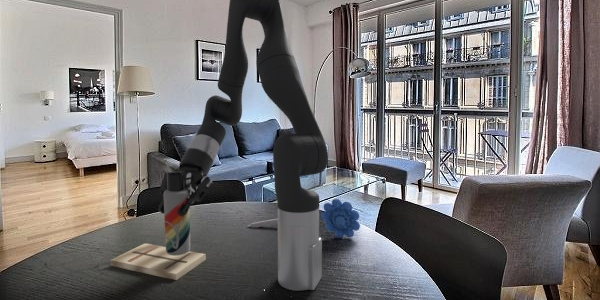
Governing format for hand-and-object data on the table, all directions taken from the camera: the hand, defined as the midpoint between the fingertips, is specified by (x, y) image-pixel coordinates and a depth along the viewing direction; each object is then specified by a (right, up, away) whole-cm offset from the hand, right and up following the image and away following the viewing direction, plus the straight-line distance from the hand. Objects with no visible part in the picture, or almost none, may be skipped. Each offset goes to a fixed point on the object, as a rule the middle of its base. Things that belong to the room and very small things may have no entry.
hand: (170, 213), depth 80 cm
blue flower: (+42, -12, +21) cm, 49 cm away
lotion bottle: (+1, -10, +3) cm, 10 cm away
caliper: (+24, -11, +31) cm, 40 cm away
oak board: (-5, -13, +5) cm, 15 cm away
